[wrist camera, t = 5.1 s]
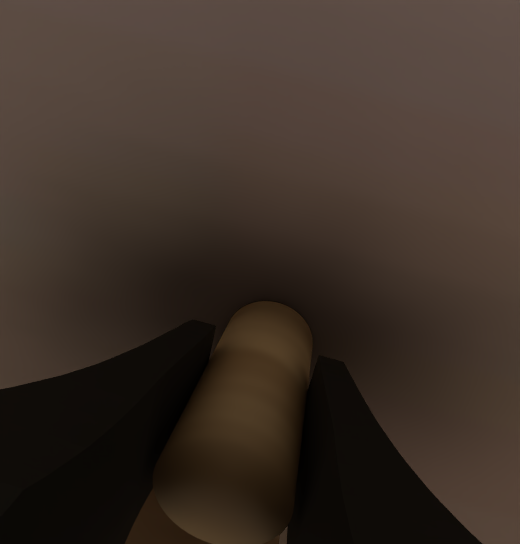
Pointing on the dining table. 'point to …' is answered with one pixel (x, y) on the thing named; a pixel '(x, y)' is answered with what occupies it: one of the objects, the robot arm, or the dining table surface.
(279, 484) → the tan rounded-end part
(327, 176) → the dining table surface
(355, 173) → the dining table surface
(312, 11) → the dining table surface
